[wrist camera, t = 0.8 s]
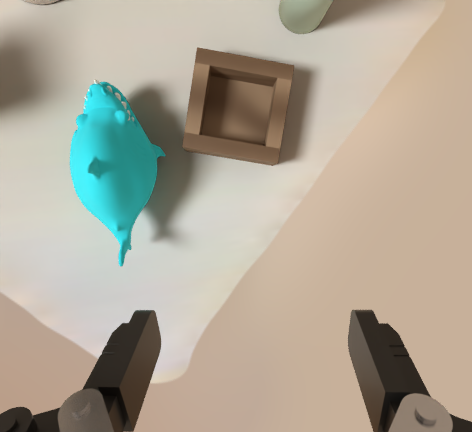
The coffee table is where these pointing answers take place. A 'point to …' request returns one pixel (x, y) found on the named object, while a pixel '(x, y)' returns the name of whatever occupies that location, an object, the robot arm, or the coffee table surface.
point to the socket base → (237, 107)
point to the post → (303, 14)
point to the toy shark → (112, 162)
